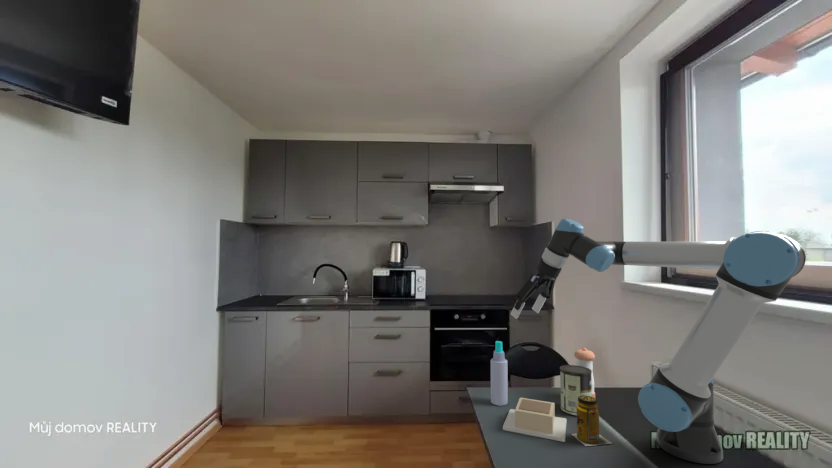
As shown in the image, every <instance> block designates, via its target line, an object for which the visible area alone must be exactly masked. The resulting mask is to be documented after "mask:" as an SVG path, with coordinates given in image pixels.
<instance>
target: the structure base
mask: <svg viewBox="0 0 832 468" xmlns="http://www.w3.org/2000/svg"><path fill="white" fill-rule="evenodd" d="M517 401H518V402H517V404H516V407H515V409H514V408H510V409H509V411H508V414H507V416H506V418H505V421H504V423H503V426H502V430H503V431H506V432H510V433H511V432H512V433H517V434H521V435H526V436H532V437H536V438H537V437H538V438H543V439H548V440H552V441H558V442H561V443H562V442H563V443H566V432H567V418H565V417H559V416H556V415H555V414H556V411H555V410H556V409H555V408H556V406H555V405H556V404H555V402H551V401H545V400H538V399H534V398H533V399H532V398H525V397H519V399H518V400H517Z"/></svg>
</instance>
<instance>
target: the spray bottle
mask: <svg viewBox="0 0 832 468" xmlns="http://www.w3.org/2000/svg"><path fill="white" fill-rule="evenodd" d="M494 347H495V350H493V357H492V358H491V359H490V403H491V404H493V405H495V406H498V407H504V406H506V405H508V402H509V401H508V400H509V398H508V397H509V396H508V395H509V394H508V393H509V392H508V390H509V389H508V387H509V386H508V382H509V381H508V380H509V379H508V371H509V370H508V359H506V358H505V351H504V350H503V341H501V340H496V341H495V346H494Z"/></svg>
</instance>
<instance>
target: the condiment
mask: <svg viewBox="0 0 832 468" xmlns="http://www.w3.org/2000/svg"><path fill="white" fill-rule="evenodd" d="M598 406H599V405H598V399H596V397H595V398H594V397H591V396H586V395H582V396H579V397H578V405H577V415H576V433H571V435H572V436H573V437H574V438H575V439H576V440H577V441H578V442H579V443H581V444H582V445H584V446H585V447H593V446H595V447H596V446H600V445H609V444H610V445H611V444H613V443H612V442H611V441H609V440H608V439H607V438H605V437H603V435H601V434H600V410H599V408H598Z"/></svg>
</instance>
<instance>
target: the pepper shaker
mask: <svg viewBox="0 0 832 468" xmlns="http://www.w3.org/2000/svg"><path fill="white" fill-rule="evenodd" d="M573 356H574V357H575V358H576V366H582V367H586V368H589V369H590V370H591V371H592V373H591V384H592V397H594V398H595V399H596V392H595V379H594V378H595V377H594V373H593V372H594V371H593V370H594V369H593V365H594V363H593V362H594V360H595V359H596V355H595V354H594V352H593V351H591V350H588V349H587V348H586V347H582V348H580V349H577V350H575V352H574V354H573Z"/></svg>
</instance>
